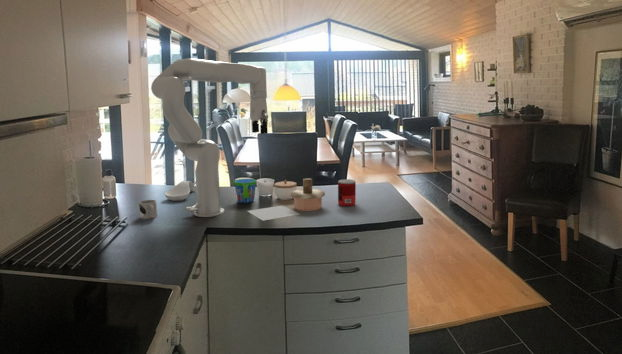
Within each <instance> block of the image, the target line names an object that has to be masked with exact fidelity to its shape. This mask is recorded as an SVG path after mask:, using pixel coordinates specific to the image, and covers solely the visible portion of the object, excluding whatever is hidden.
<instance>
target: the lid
mask: <svg viewBox="0 0 622 354" xmlns="http://www.w3.org/2000/svg"><path fill="white" fill-rule="evenodd" d="M325 195H326V193H325V191H324V190H322V189H315V188H313V178H311V177H310V178H303V179H302V189H296V190H295V191H292V192H291V196H292V197H293V198H299V199H315V198H320V197H322V198H323V197H325Z"/></svg>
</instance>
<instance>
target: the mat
mask: <svg viewBox="0 0 622 354" xmlns="http://www.w3.org/2000/svg"><path fill="white" fill-rule="evenodd" d="M247 212H248V213H250V215H253V216H254V217H256V218H257V219H259V220H260V221H262V222H263V221H264V222H265V221H270V220H277V219H282V218H287V217H293V216H299V215H301V214H300V213H298V212H296V211H295V210H292V209H290V208H289V207H286V206H285V205H277V206H270V207H263V208H256V209H251V210H247Z"/></svg>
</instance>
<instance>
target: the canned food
mask: <svg viewBox="0 0 622 354" xmlns="http://www.w3.org/2000/svg"><path fill="white" fill-rule="evenodd" d="M356 186H357V185H356V180H355V179H351V178H349V179H347V178H345V179H339V180H338V181H337V202H338V206H341V207H353V206H355V205H356V194H357V193H356Z"/></svg>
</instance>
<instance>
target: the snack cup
mask: <svg viewBox="0 0 622 354" xmlns="http://www.w3.org/2000/svg"><path fill="white" fill-rule="evenodd" d="M257 183H258V182H257V180H256V179H253V178H241V179H235V180H233V184H234V185H233V186H234V188H235V192H236V198H237V202H238V203H240V204H246V203H253V202H254V201H255V197H256V196H255V195H256V188H257Z"/></svg>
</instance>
